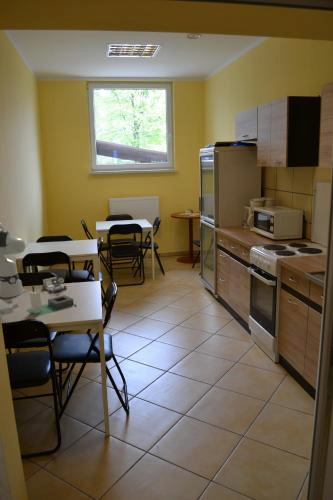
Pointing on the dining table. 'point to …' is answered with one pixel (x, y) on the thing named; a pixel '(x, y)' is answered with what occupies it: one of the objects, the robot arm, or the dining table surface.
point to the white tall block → (35, 301)
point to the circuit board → (46, 310)
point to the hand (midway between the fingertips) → (15, 303)
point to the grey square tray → (60, 302)
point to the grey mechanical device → (53, 284)
